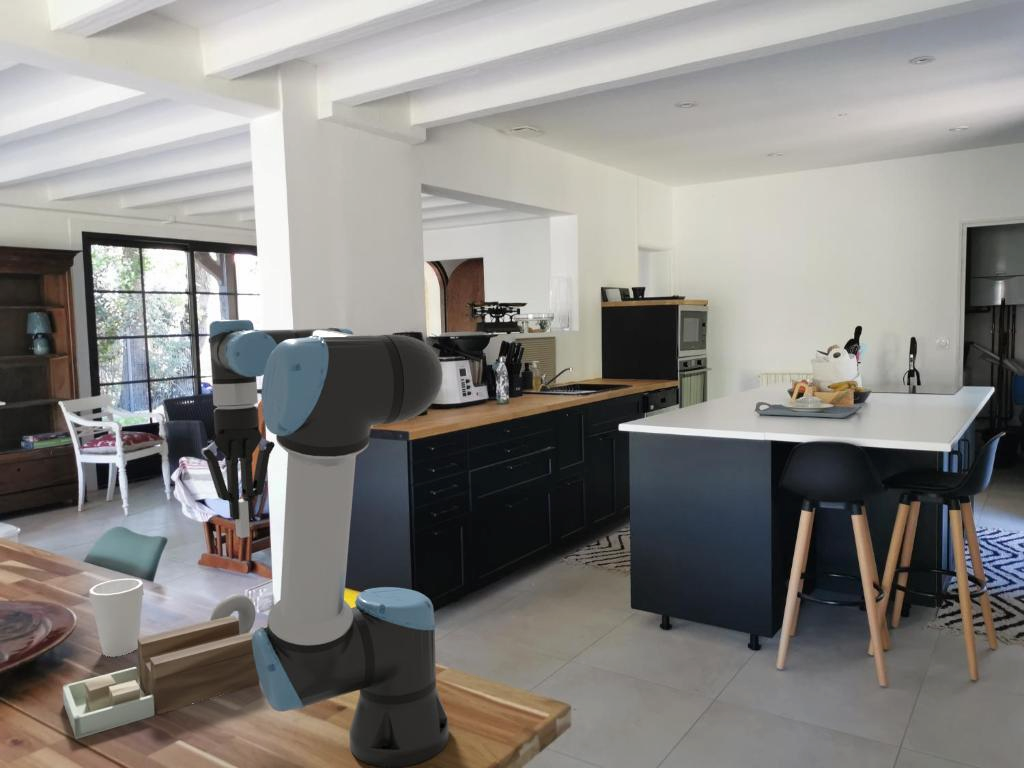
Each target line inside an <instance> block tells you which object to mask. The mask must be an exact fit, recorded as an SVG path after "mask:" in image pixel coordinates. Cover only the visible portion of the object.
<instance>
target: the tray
mask: <svg viewBox="0 0 1024 768" xmlns="http://www.w3.org/2000/svg"><path fill="white" fill-rule="evenodd" d="M137 670H138V668H137V666H133V667H130V668H126V669H121V670H116V671H114V672H109V673H106V674H102V675H98V676H95V677H91V678H87V679H83V680H79V681H76V682H72V683H68V684H63V685H62V696H63V706H64V709H65V711H66V715H67V717H68V720H69V723H70V726H71V729H72V732H73V735H74V738H75V740H77V739H81V738H84V737H87V736H88V737H89V736H91V735H94V734H97V733H100V732H104V731H107V730H111V729H114V728H117V727H121V726H125V725H128V724H131V723H134V722H138V721H141V720H144V719H148V718H150V717H154V715H155V709H154V699H153V695H149V696H147V695H145V692H144V690H143V689H142V687H141V685H140V683H139V682H138V671H137ZM108 675H111V676H112V678H113V679H114V681H115V682H116V685H118V684H122V683H125V682H129V681H133V680H136V682H137V684H138V686H139V688H140V698H139V699H135V700H132V701H128V702H125V703H121V704H118V705H114V706H111V707H107V708H103V709H100V710H96V711H93V712H90V711H89V709H88V707H87V706H86V699H85V684H84V682H87V681H91V680H94V679H98V678H101V677H105V676H108Z"/></svg>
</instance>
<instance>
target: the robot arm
mask: <svg viewBox="0 0 1024 768" xmlns="http://www.w3.org/2000/svg"><path fill="white" fill-rule="evenodd" d="M208 343H209V352H210V354H209V355H210V366H211V379H212V380H211V382H212V386H211V387H212V400H213V402H212V403H213V406H215V407H217V408H215V409H214V410H213V419H214V420H213V421H214V424H213V425H214V435H213V437H212V442H211V443H210V444H209V445H207V446H205V447H202V448H201V449H199V452H200V453H199V454H200V455H202V457H203V458H204V459H205V460H206V463H207V467H208V469H209V473H210V476H211V479H212V482H213V485H214V488H215V491H216V495H217V497H218V498H219V499H220V500H223V501H227V502H228V503H229V505H228V506H229V508H228V509H229V517H230V519H232V520H234V522H235V535H236V536H237V537H239V538H240V539H243V538H244V539H245V538H248V537H249V538H250V537H251V534H250V518H251V517H252V518H253V517H254V501H255V499H256V497H258V496H260V495H262V494H263V493H264V488H265V483H266V477H267V471H268V466H269V460H270V455H271V453H272V452H273V449H274V448H275V441H274V442H273V441H271V440H267V439H266V438H264V437H263V434H262V431H260V422H259V419H260V418H259V408H258V407H257V406H256V404H258V402H259V401H258V399H259V398H258V384H257V377H261V376H263V377H262V383H261V385H262V386H261V401H262V407H261V410H262V411H261V412H262V413H261V414H262V418H263V421H264V425H265V426H266V427H265V428H267V430H268V432H270V433H272V434H273V435H276V436H275V437H276V439H275V440H276V443H277V444H278V445H279V447H281V448H282V449H283V450H284V451H285V452H286V453H287V463H286V465H287V466H286V467H287V468H286V484H285V487H286V488H285V501H284V503H285V505H284V521H283V522H284V523H283V541H282V544H283V545H282V562H281V578H280V579H281V580H280V581H281V583H280V584H281V585H280V600H278V601H277V602H276V603H274V604H273V606H272V607H271V608H270V610H269V613H268V616H267V627H260V628H259V629H257V630H255V631H254V632H253V633H252V634H253V636H252V647H253V654H254V659H255V664H256V668H257V672H258V676H259V683H260V685H261V688H262V692H263V694H264V697H265V699H266V701H267V703H268V704H269V706H270V707H271V708H272V709H273V710H275V711H277V712H287V711H292V710H296V709H304V708H306V707H308V706H312V705H315V704H318V703H320V702H325V701H327V700H331V699H333V698H337V697H340V696H343V695H346V694H349V693H355V692H357V691H359V697H358V701H357V704H356V706H355V707H356V708H355V711H354V714H353V718H352V720H351V725H350V728H349V748H350V750H351V753H352V754H353V756H355V757H356V758H357V759H358V760H360V761H361V762H363V763H365V764H369V765H371V766H375V767H383V768H398V767H407V766H411V765H416V764H419V763H422V762H424V761H427V760H429V759H431V758H433V757H434V756H436V755H437V754H439V753H440V752H441V751H442V750H443V749H444V748H445V747H446V745H447V744H448V741H449V738H450V733H449V719H448V716H447V713H446V711H445V707H444V706H443V703H442V700H441V697H440V694H439V692H438V690H437V678H436V677H437V676H436V674H437V670H436V669H437V667H436V663H437V662H436V627H437V625H436V621H435V615H434V614H435V612H434V604H433V603H432V601H431V599H430V598H429V597H427V596H426V595H425V594H423V593H421V592H420V591H416V590H413V589H410V588H409V589H408V588H404V587H403V588H402V587H393V586H391V587H389V586H383V587H382V586H381V587H372V588H368V589H365V590H363V591H361V592H360V593H358V594H357V596H356V599H355V601H354V604H355V606H354V607H351V605H350V604H349V603H348V602H347V601H346V600H345V593H346V592H345V589H346V580H347V579H346V578H347V577H346V576H347V568H348V565H347V564H348V554H349V542H350V541H349V540H350V531H351V519H352V510H353V508H352V507H353V506H352V505H353V497H354V494H353V493H354V485H355V484H354V482H355V470H356V457H357V456H358V455H359V454H360V453H362V452H363V451H365V450H366V449H367V448H368V447H369V444H370V437H371V435H370V434H371V428H372V427H374V426H379V425H389V424H397V423H400V422H404V421H407V420H410V419H413V418H415V417H417V416H419V415H420V414H422V413H424V412H425V411H426V410H427V409H428V408H429V407H430V406H432V404H433V403H434V401H435V400H436V398H437V396H438V394H439V393H440V390H441V388H442V384H443V383H442V382H443V368H442V363H441V361H440V358H439V357H438V355H437V353H436V352H435V350H434V349H433V348H432V347H431V346H430V345H428V344H427V343H425V342H424V341H422V340H420V339H418V338H416V337H412V336H407V335H402V334H379V335H378V334H377V335H373V334H372V335H370V334H369V335H357V334H356V335H355V334H354V333H353V331H352V330H351V329H348V328H339V327H329V328H310V329H309V328H308V329H306V328H305V329H263V330H262V329H255V327H254V323H253V322H252V321H251V320H249V319H222V320H221V319H220V320H213V321H211V323H210V324H209V338H208ZM257 448H258V453H257V458H256V464H255V469H254V476H253V461H254V460H253V455H254V453H255V451H256V449H257ZM217 450H218V451H219V452H220V453H221V454H222V456H223V457H224V463H225V465H226V467H225V470H226V482H225V479H224V476H223V472H222V469H221V465H220V463H219V460H218V458H217V456H218V452H217ZM239 465H240V476H241V477H240V479H241V480H240V481H241V497H242V498H240V487H239V486H240V485H239V467H238V466H239Z"/></svg>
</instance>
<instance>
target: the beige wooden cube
mask: <svg viewBox="0 0 1024 768" xmlns="http://www.w3.org/2000/svg"><path fill="white" fill-rule="evenodd" d="M138 684H139V683H138ZM138 684H137V682H136V680H133V681H129V682H125V683H122V684H118V685H114V686H110V687H109V695H110V707H111V706H114V705H118V704H121V703H125V702H128V701H132V700H135V699H139V698H140V688H141V687H140V688H139V686H140V685H139V686H138Z"/></svg>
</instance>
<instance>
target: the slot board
mask: <svg viewBox="0 0 1024 768" xmlns="http://www.w3.org/2000/svg"><path fill="white" fill-rule="evenodd" d="M252 636H253V633H252V631H250V632H249V633H245V634H242V635H241V634H240V633H239V620H238V617H236V616H235V615H234V614H233V615H230V616H228V617H224V618H220V619H216V620H212V621H210V620H209V621H204V622H201V623H195V624H192V625H188V626H184V627H180V628H176V629H172V630H171V629H170V630H168V631H163V632H158V633H154V634H151V635H146V636H142V637H139V638H137V641H138V648H137V659H138V673H139V674H138V675H139V676H138V678H139V685H140V687H141V689H142V691H143V692H144V694H146V695H145V696H149V695H153V699H154V712H155V713H156V714H157V715H161V714H165V713H167V712H166V711H168V712H170V711H169V710H171V711H174V709H175V710H178V709H181V708H180V707H182V708H184V707H183V706H185V707H187V706H186V705H188V706H190V705H189V704H192V703H195V704H197V703H196V702H198V703H200V702H199V701H202V700H205V701H207V700H206V699H208V700H211V699H210V698H212V699H215V698H218V697H221V696H220V695H222V696H224V695H223V694H225V695H228V694H232V693H235V692H237V691H241V690H245V689H248V688H251V687H254V686H258V685H261V683H260V680H259V676H258V672H257V668H256V664H255V659H254V654H253V647H252ZM231 692H232V693H231ZM217 696H218V697H217ZM214 697H215V698H214ZM202 702H203V701H202ZM192 705H193V704H192ZM177 708H178V709H177ZM164 712H165V713H164Z"/></svg>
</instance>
